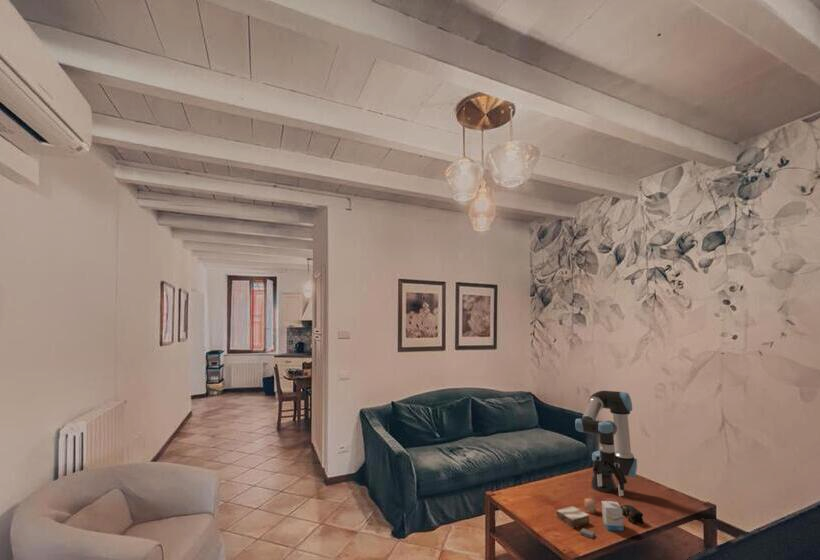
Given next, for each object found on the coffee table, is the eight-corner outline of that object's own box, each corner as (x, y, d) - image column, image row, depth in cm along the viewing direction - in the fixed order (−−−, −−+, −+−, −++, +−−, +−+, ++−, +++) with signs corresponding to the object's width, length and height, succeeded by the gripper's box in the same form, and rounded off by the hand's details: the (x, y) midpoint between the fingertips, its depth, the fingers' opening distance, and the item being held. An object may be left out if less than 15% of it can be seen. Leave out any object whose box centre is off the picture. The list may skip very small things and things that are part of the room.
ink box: (624, 531, 207) (622, 508, 209) (607, 530, 209) (605, 507, 210) (619, 523, 216) (617, 501, 217) (602, 522, 217) (601, 500, 219)
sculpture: (617, 513, 226) (616, 501, 227) (626, 512, 227) (625, 499, 228) (634, 525, 213) (633, 512, 214) (644, 524, 214) (643, 511, 215)
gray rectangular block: (580, 535, 206) (580, 531, 206) (583, 532, 209) (583, 528, 209) (592, 539, 202) (591, 535, 202) (594, 536, 204) (594, 532, 205)
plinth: (557, 518, 223) (556, 510, 223) (572, 513, 227) (572, 505, 228) (573, 528, 212) (572, 519, 212) (589, 523, 216) (588, 514, 217)
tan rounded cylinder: (582, 509, 232) (582, 499, 232) (590, 507, 234) (589, 497, 235) (591, 514, 226) (590, 503, 227) (598, 512, 229) (597, 501, 229)
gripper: (584, 445, 226) (587, 483, 224) (622, 459, 204) (625, 501, 201) (594, 443, 229) (596, 481, 227) (632, 456, 207) (635, 498, 204)
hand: (610, 490), depth 214 cm, fingers open, 13 cm apart
